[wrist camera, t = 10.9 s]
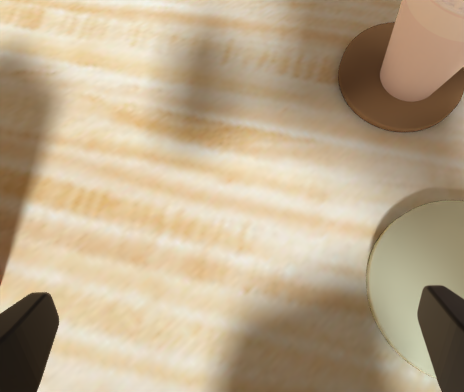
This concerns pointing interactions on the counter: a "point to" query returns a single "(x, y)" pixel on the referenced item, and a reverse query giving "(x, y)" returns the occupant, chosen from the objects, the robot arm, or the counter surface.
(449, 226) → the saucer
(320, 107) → the counter surface
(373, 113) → the disc
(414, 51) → the smoothie
